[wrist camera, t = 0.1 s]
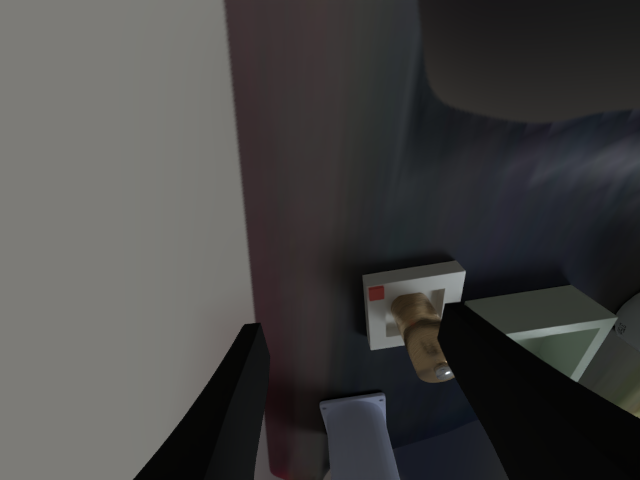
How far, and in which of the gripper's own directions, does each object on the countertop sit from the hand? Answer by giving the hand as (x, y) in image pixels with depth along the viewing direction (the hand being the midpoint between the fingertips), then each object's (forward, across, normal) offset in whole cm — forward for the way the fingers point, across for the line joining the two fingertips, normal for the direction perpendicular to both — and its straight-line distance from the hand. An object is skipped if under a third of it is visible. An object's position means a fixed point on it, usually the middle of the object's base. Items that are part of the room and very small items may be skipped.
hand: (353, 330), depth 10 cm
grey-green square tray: (+10, -18, +14) cm, 25 cm away
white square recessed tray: (+10, -7, +9) cm, 15 cm away
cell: (+10, -7, +9) cm, 15 cm away
